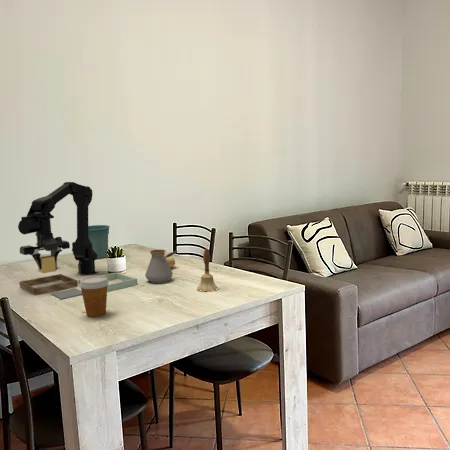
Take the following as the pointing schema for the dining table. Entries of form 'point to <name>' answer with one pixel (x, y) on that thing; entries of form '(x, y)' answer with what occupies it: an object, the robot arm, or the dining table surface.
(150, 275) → the coffee pot
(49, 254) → the grey cylinder
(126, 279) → the sage tray
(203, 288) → the hand bell
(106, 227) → the flower pot
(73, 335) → the dining table surface
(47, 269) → the letter block
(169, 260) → the onion
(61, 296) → the rubber mat
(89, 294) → the disposable coffee cup
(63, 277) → the walnut tray
